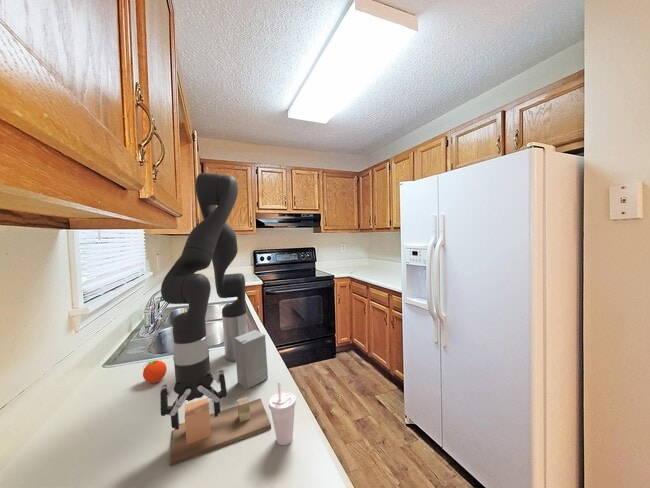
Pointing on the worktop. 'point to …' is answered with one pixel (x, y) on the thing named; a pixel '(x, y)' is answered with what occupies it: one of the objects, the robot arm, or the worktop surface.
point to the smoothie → (283, 415)
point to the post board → (222, 430)
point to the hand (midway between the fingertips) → (197, 421)
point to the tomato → (154, 371)
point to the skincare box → (251, 358)
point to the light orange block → (197, 421)
